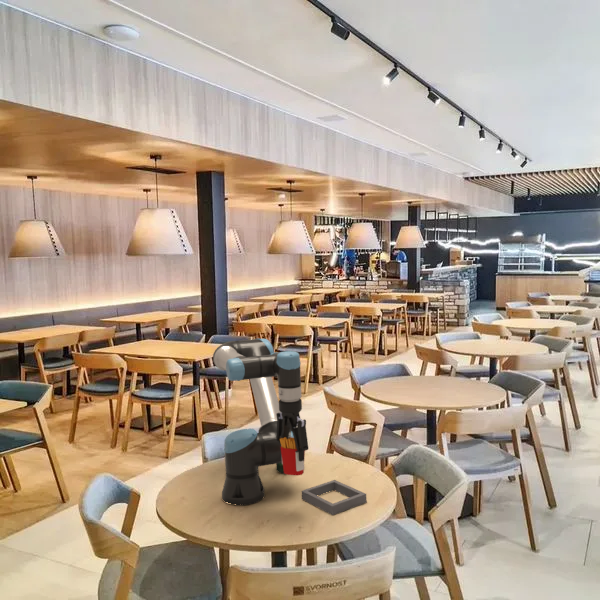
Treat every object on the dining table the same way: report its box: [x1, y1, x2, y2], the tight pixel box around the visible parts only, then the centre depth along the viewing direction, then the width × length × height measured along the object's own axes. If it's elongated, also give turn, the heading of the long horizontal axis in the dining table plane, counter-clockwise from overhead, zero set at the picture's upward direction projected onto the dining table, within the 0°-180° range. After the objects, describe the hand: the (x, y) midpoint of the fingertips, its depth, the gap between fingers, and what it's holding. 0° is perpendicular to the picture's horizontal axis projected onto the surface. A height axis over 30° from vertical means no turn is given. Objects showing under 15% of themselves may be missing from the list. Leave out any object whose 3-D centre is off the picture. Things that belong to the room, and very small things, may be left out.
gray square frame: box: [301, 479, 367, 516], centre depth 200 cm, size 17×15×3 cm
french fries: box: [280, 437, 306, 476], centre depth 192 cm, size 8×4×12 cm, turn 69°
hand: (292, 466), depth 192 cm, fingers closed on french fries, 8 cm apart
